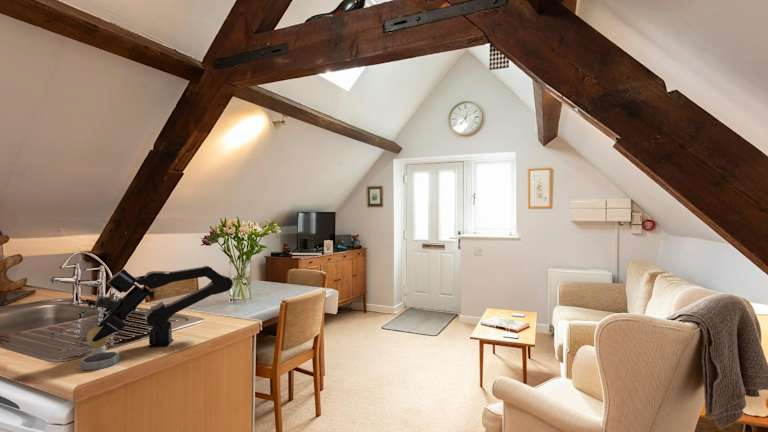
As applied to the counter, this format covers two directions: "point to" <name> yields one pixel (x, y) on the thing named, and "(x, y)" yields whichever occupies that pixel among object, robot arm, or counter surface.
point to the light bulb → (98, 345)
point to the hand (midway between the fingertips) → (93, 337)
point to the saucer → (99, 360)
